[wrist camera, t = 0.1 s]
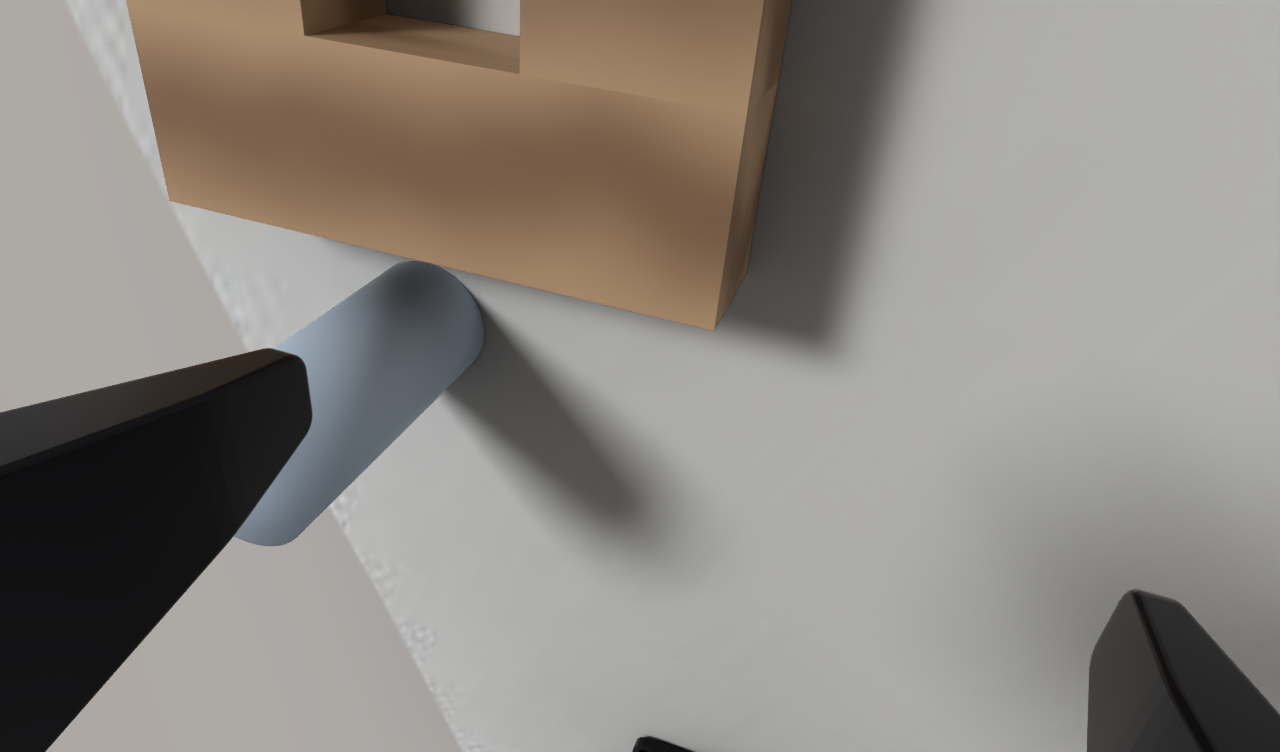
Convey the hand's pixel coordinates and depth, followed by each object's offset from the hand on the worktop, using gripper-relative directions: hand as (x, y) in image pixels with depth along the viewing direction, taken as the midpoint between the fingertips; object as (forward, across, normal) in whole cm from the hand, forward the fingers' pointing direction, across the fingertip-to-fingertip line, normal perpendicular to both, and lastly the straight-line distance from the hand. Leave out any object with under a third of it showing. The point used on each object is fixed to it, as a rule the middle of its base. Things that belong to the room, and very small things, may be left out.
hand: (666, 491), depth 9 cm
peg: (+15, +12, +8) cm, 20 cm away
